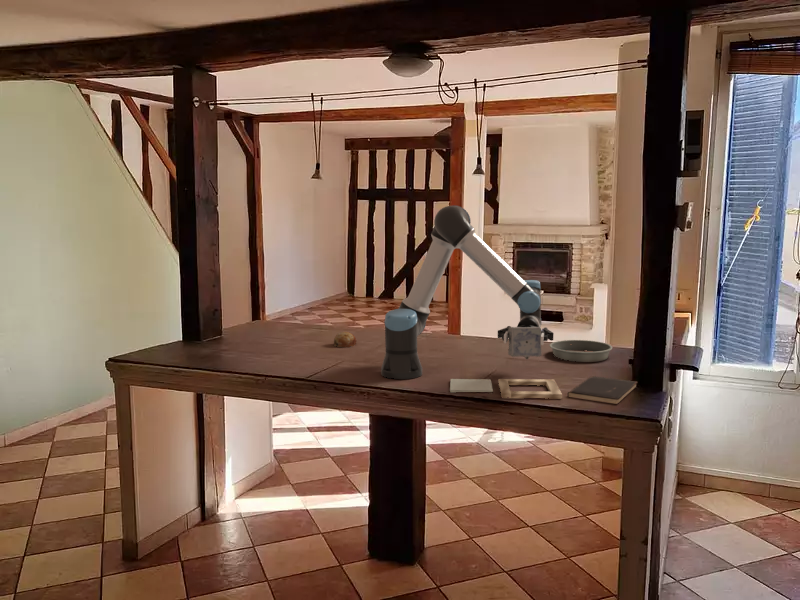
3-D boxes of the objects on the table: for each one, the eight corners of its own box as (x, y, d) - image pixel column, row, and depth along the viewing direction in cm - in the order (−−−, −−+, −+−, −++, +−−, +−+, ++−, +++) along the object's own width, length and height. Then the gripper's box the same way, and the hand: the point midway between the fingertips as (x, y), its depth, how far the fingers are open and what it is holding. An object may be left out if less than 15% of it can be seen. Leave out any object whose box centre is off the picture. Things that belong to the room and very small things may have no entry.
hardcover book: (637, 388, 222) (637, 381, 222) (618, 406, 203) (618, 398, 203) (590, 382, 231) (590, 375, 231) (567, 398, 212) (567, 391, 212)
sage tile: (450, 392, 218) (450, 390, 218) (450, 381, 232) (450, 379, 232) (492, 392, 217) (492, 390, 217) (490, 381, 231) (490, 379, 231)
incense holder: (536, 354, 222) (537, 323, 221) (541, 359, 214) (542, 328, 212) (507, 354, 222) (507, 323, 221) (511, 360, 214) (512, 328, 212)
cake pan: (614, 352, 275) (614, 341, 274) (609, 365, 252) (609, 354, 252) (554, 348, 284) (554, 337, 283) (544, 360, 261) (544, 349, 261)
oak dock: (501, 398, 211) (501, 393, 211) (498, 383, 229) (498, 378, 229) (562, 398, 209) (562, 394, 209) (554, 383, 227) (554, 379, 227)
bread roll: (332, 352, 297) (326, 338, 294) (348, 339, 303) (342, 325, 300) (347, 356, 290) (340, 341, 287) (362, 342, 296) (356, 328, 293)
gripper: (562, 339, 232) (560, 353, 211) (495, 336, 238) (486, 349, 217) (562, 318, 231) (560, 330, 210) (495, 316, 237) (487, 327, 216)
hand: (523, 340), depth 213 cm, fingers closed on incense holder, 11 cm apart
